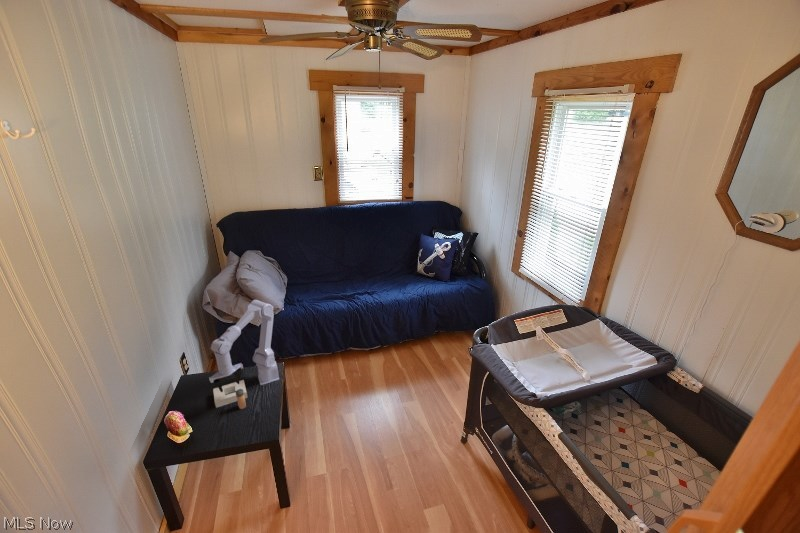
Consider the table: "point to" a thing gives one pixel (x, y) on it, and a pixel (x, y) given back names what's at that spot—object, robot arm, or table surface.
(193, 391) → the table surface
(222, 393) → the socket plate
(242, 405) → the peg
